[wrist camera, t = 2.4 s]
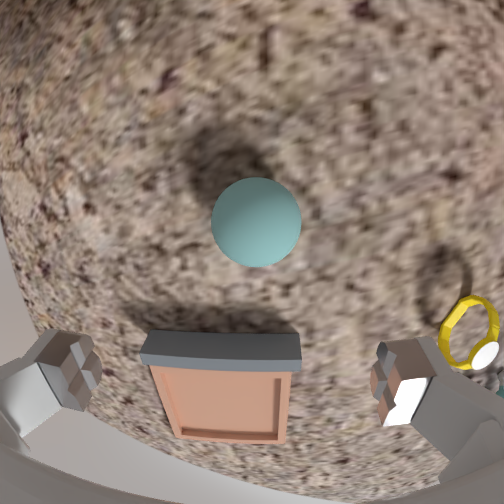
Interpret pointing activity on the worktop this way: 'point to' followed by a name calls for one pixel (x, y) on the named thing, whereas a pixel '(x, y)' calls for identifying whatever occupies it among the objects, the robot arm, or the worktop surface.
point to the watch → (484, 348)
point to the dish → (225, 404)
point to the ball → (256, 222)
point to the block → (222, 351)
